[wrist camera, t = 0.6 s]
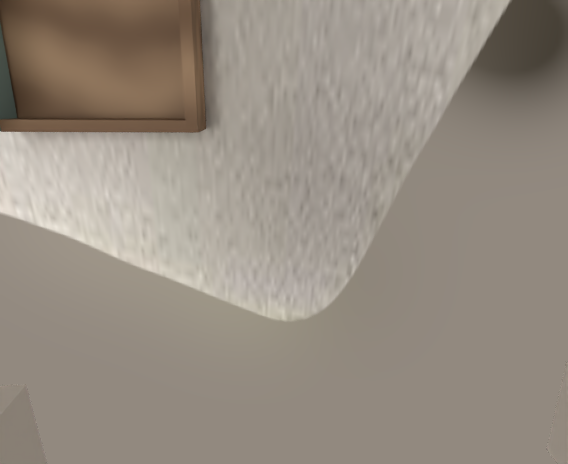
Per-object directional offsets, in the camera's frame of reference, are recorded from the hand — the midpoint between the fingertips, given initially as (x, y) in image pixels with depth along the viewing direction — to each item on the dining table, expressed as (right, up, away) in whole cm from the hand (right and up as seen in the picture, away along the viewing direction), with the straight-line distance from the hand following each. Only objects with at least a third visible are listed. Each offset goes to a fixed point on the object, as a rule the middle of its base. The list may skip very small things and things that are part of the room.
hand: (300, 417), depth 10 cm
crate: (-14, +20, +20) cm, 31 cm away
